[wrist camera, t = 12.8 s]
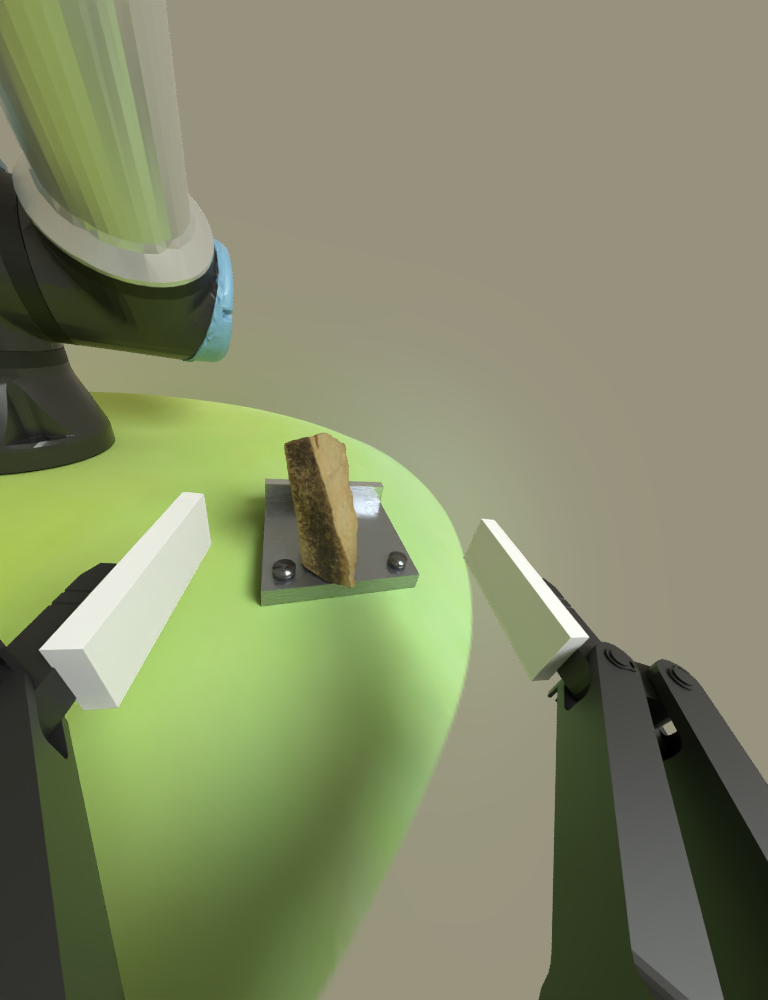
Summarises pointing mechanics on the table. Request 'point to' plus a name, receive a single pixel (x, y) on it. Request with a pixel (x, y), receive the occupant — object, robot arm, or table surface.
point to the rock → (323, 507)
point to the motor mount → (376, 544)
